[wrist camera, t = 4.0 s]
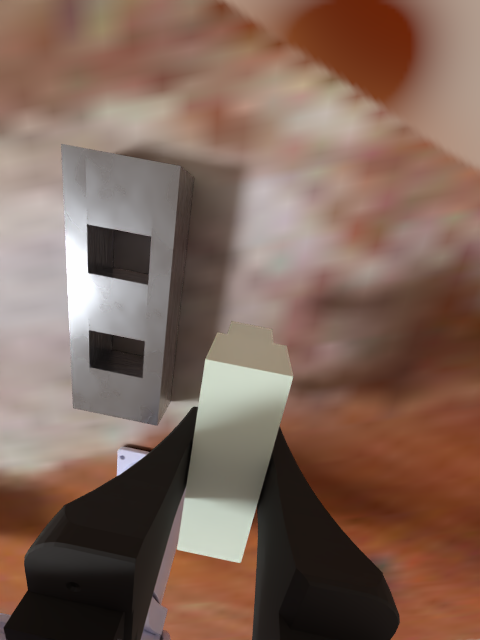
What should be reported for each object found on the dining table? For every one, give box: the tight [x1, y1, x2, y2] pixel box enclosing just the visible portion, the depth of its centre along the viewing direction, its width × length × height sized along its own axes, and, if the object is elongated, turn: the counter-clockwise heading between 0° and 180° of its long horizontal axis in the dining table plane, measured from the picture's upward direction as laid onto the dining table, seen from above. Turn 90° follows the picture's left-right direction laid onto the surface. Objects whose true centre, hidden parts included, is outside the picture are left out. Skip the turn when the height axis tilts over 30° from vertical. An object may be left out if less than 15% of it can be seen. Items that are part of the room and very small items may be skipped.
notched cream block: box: [177, 321, 293, 563], centre depth 13 cm, size 10×3×6 cm, turn 170°
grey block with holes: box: [61, 144, 194, 425], centre depth 19 cm, size 18×7×3 cm, turn 170°
